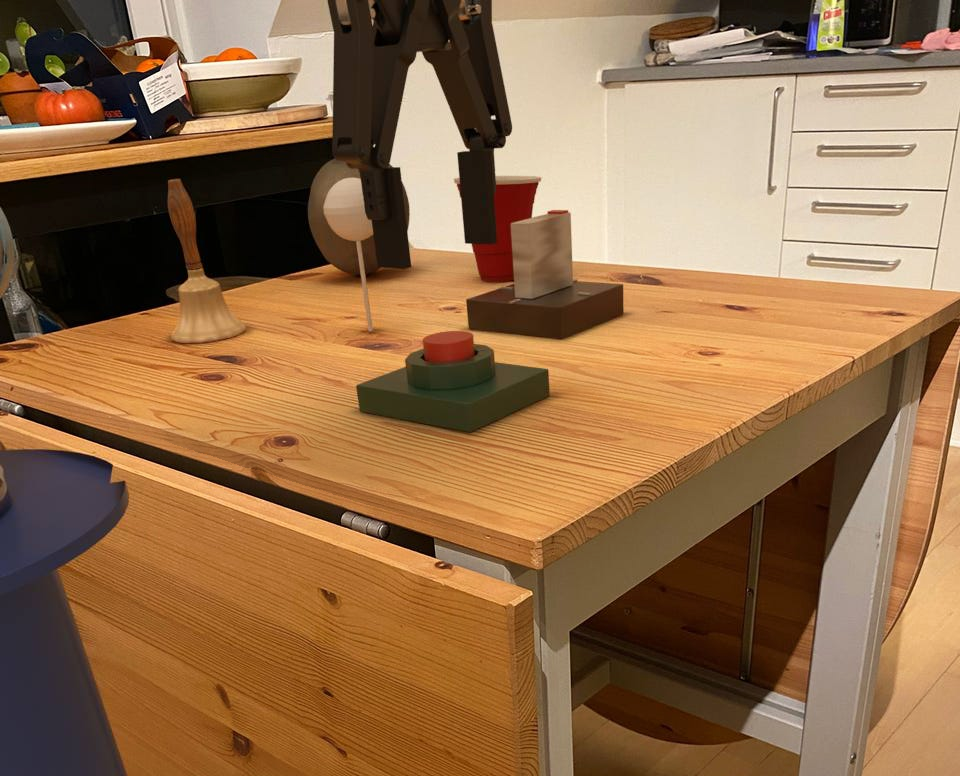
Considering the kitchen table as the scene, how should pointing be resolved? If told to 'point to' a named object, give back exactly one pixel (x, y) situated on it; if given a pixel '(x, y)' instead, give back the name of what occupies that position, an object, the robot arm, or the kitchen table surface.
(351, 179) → the lollipop
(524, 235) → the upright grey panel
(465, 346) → the bell button
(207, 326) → the hand bell
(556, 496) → the kitchen table surface
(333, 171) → the brown ovoid
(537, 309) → the plate
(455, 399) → the button box
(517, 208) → the plastic cup
